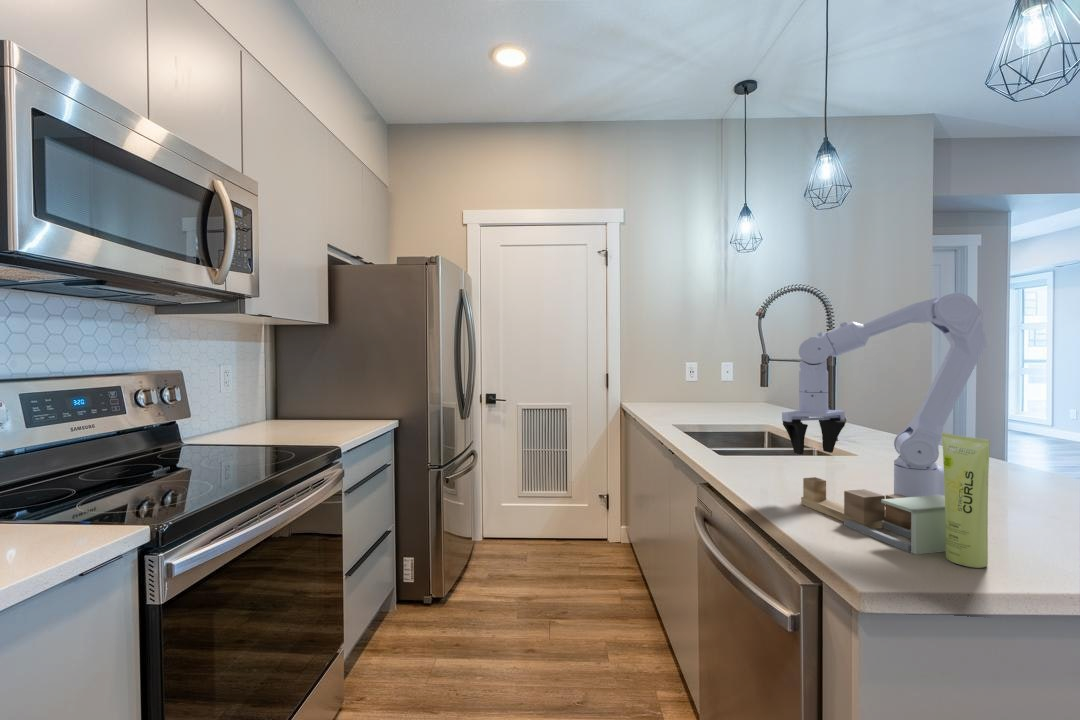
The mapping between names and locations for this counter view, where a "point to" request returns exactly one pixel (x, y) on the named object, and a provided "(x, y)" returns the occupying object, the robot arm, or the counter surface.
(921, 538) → the shelter
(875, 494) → the cube
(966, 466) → the tube
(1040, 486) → the counter surface
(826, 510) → the tan stepped wooden piece
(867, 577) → the counter surface
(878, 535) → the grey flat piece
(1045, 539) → the counter surface
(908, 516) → the block brown
